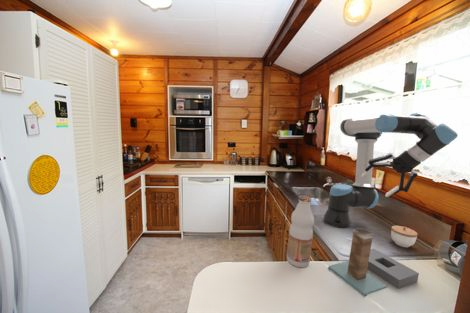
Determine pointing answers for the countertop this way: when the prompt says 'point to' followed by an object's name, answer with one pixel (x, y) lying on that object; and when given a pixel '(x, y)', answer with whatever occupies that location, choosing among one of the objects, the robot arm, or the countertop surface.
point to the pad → (361, 285)
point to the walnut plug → (359, 253)
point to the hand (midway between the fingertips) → (373, 185)
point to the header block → (391, 270)
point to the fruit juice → (301, 234)
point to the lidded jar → (403, 236)
